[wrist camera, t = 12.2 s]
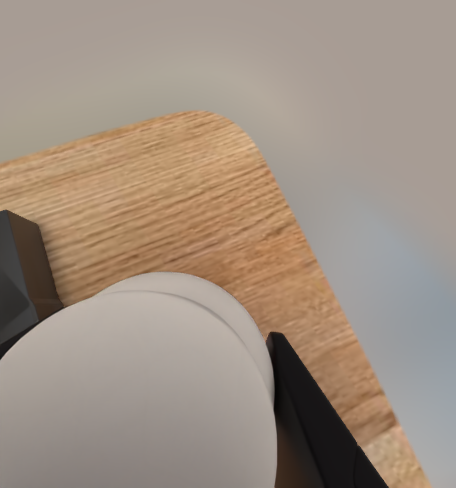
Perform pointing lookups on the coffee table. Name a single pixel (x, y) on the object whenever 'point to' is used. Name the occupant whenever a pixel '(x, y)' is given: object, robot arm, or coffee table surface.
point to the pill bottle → (140, 392)
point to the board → (23, 276)
